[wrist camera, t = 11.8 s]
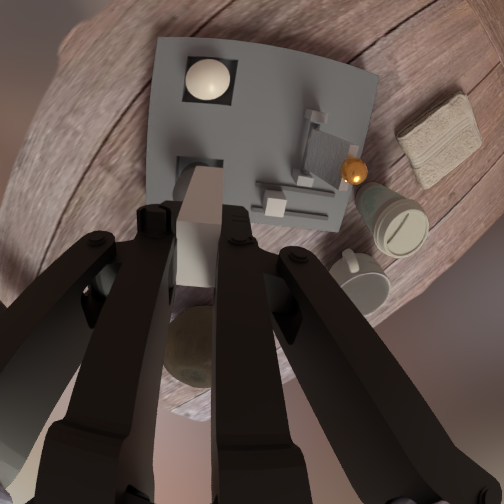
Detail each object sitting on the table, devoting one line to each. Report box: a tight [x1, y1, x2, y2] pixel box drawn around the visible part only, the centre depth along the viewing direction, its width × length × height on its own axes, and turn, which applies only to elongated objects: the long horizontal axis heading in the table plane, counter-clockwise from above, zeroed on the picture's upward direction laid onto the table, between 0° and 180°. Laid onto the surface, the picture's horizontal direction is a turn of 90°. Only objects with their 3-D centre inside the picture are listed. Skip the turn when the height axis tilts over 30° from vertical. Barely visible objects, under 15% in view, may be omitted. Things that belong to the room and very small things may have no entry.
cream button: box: [186, 59, 230, 100], centre depth 28 cm, size 5×5×6 cm
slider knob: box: [262, 189, 287, 217], centre depth 36 cm, size 2×2×3 cm
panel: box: [146, 37, 379, 232], centre depth 33 cm, size 28×24×7 cm
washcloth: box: [396, 91, 482, 189], centre depth 36 cm, size 12×18×3 cm, turn 131°
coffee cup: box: [355, 182, 429, 258], centre depth 38 cm, size 9×8×12 cm
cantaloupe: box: [163, 305, 213, 388], centre depth 48 cm, size 14×14×15 cm
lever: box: [300, 122, 368, 191], centre depth 29 cm, size 3×6×10 cm, turn 171°
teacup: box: [329, 249, 391, 317], centre depth 47 cm, size 14×11×8 cm
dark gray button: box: [172, 162, 211, 201], centre depth 33 cm, size 5×5×6 cm
